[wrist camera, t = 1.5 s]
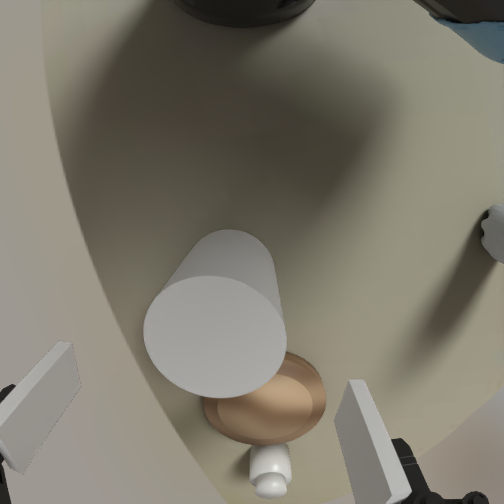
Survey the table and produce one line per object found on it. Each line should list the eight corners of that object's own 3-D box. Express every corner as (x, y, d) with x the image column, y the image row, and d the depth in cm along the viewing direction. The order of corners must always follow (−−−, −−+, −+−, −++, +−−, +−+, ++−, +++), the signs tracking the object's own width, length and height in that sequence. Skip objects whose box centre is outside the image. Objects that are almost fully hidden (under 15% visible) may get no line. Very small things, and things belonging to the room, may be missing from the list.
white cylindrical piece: (192, 316, 30) (160, 397, 18) (179, 233, 28) (129, 280, 16) (277, 311, 29) (288, 394, 18) (272, 225, 27) (283, 270, 16)
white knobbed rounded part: (252, 437, 34) (251, 481, 28) (292, 439, 34) (296, 482, 28) (248, 459, 36) (247, 500, 29) (285, 461, 36) (288, 501, 29)
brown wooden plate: (208, 342, 30) (205, 354, 28) (335, 353, 31) (340, 365, 29) (204, 428, 34) (202, 441, 32) (309, 435, 34) (311, 448, 32)
